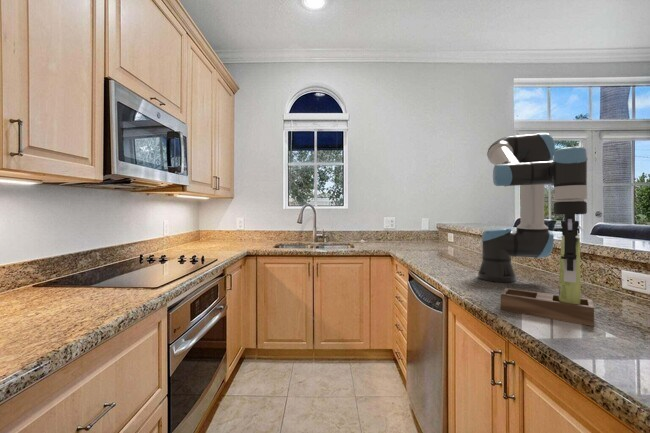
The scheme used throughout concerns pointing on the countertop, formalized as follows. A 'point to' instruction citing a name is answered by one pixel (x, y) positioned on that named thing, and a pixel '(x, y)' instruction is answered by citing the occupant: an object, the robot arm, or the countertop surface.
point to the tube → (570, 290)
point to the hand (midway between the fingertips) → (569, 279)
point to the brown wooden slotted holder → (547, 306)
